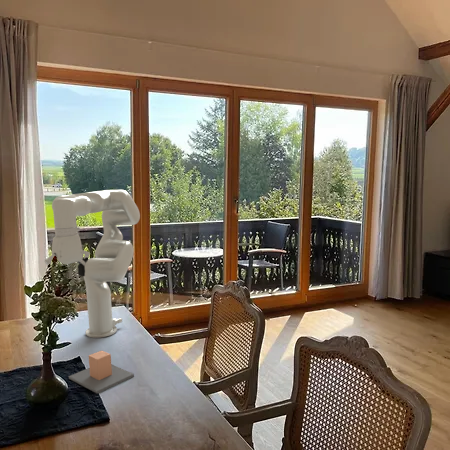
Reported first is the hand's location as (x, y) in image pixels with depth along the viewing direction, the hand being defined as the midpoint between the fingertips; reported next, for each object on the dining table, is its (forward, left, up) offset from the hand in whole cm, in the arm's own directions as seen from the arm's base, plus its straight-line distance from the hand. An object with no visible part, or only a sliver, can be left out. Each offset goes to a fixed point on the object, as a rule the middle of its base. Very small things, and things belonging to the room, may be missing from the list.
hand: (70, 278), depth 164 cm
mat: (+6, +25, -28) cm, 38 cm away
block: (+6, +25, -28) cm, 38 cm away
